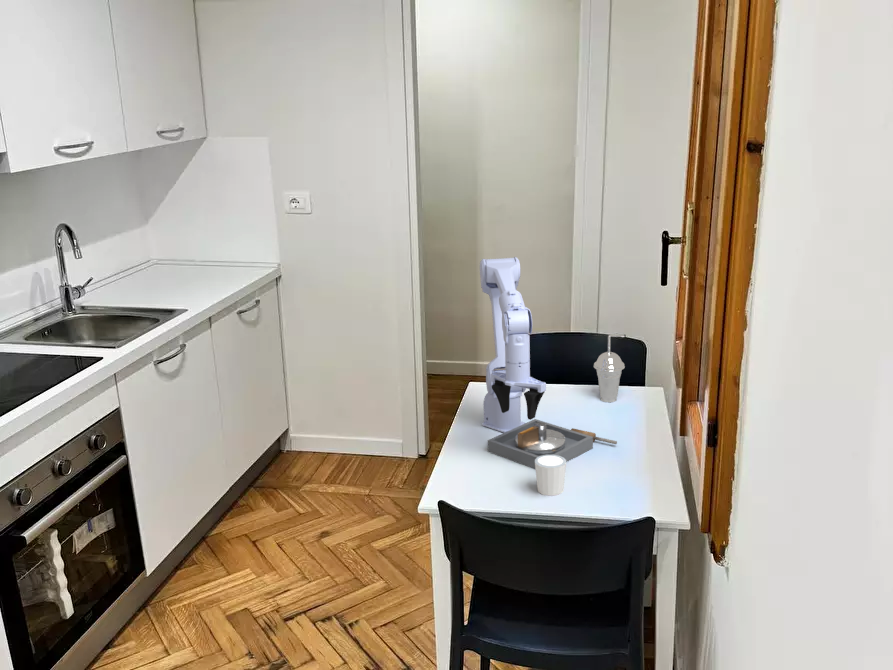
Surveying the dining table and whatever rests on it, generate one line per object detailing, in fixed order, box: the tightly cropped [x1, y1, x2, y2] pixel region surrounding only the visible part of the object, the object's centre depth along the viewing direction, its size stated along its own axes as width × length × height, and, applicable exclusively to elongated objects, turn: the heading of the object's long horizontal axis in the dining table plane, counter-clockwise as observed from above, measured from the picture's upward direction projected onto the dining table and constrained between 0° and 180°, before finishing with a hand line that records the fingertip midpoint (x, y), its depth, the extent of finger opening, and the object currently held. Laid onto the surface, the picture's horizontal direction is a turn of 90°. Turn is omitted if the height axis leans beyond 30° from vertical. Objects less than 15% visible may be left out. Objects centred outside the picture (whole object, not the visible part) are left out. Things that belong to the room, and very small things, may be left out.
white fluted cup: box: [535, 455, 567, 497], centre depth 180 cm, size 7×7×7 cm
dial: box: [515, 422, 565, 455], centre depth 200 cm, size 14×12×5 cm
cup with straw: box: [593, 333, 626, 403], centre depth 230 cm, size 8×9×20 cm
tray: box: [487, 418, 594, 470], centre depth 201 cm, size 18×18×3 cm
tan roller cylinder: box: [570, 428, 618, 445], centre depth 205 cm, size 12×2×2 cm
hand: (518, 414), depth 198 cm, fingers open, 7 cm apart
